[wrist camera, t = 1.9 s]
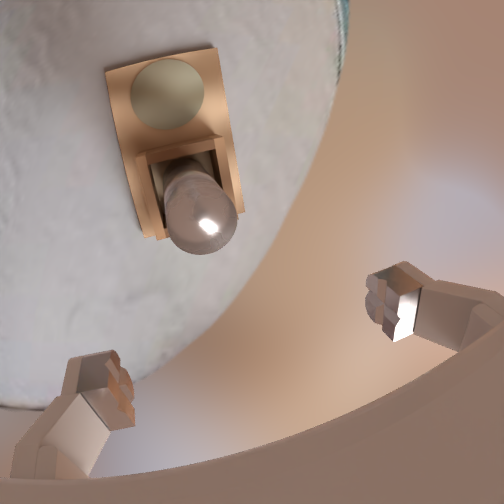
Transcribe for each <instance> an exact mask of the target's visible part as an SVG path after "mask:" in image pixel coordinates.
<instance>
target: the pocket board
mask: <svg viewBox="0 0 504 504" xmlns="http://www.w3.org/2000/svg"><path fill="white" fill-rule="evenodd" d="M105 75H106V81H107V87H108V92H109V98H110V103H111V108H112V113H113V118H114V123H115V127H116V132H117V136H118V141H119V145H120V149H121V154H122V158H123V162H124V166H125V170H126V174H127V178H128V182H129V186H130V189H131V193H132V197H133V200H134V204H135V208H136V211H137V215H138V218H139V222H140V225H141V228H142V232H143V235H144V238H147V237H151V236H155V235H156V239H157V240H161V239H165V238H168V237H170V236H169V234H168V230H167V224H166V214H165V204H164V192H163V174H164V171H165V169H166V168H167V166H168V165H169V164H170V163H172V162H173V161H175V160H177V159H180V158H191V159H194V160H196V161H197V162H199V163H200V164H201V165H202V166H203V168H204V169H205V170H206V171H207V172H208V173H209V175H210V176H211V177H212V178H213V179H214V180H215V181H216V183H217V184H218V185H219V186H220V187H221V189H222V190H223V191H224V192H225V193H226V194H227V196H228V197H229V198H230V199H231V200H232V202H233V204H234V206H235V208H236V212H237V219H238V214H239V213H243V212H245V208H244V202H243V196H242V190H241V185H240V179H239V173H238V167H237V161H236V155H235V149H234V143H233V138H232V132H231V126H230V120H229V114H228V108H227V102H226V96H225V91H224V85H223V79H222V73H221V67H220V61H219V55H218V49H217V48H211V49H204V50H198V51H192V52H187V53H181V54H176V55H171V56H166V57H161V58H157V59H152V60H148V61H144V62H140V63H136V64H132V65H128V66H125V67H121V68H117V69H114V70H111V71H107V72H105Z"/></svg>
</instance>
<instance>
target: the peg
mask: <svg viewBox="0 0 504 504" xmlns="http://www.w3.org/2000/svg"><path fill="white" fill-rule="evenodd" d="M163 192H164V204H165V214H166V224H167V230H168V234H169V236H170V238H171V240H172V241H173V242H174V244H175V245H176V246H177V247H179V248H180V249H182V250H183V251H185V252H187V253H191V254H196V255H204V254H210V253H213V252H215V251H217V250H219V249H221V248H222V247H223V246H225V245H226V244H227V243H228V242H229V241H230V239H231V238H232V236H233V235H234V232H235V230H236V226H237V212H236V208H235V206H234V204H233V202H232V200H231V199H230V198H229V197H228V196H227V194H226V193H225V192H224V191H223V190H222V189H221V187H220V186H219V185H218V184H217V183H216V181H215V180H214V179H213V178H212V177H211V176H210V175H209V173H208V172H207V171H206V170H205V169H204V168H203V166H202V165H201V164H200V163H199V162H197V161H196V160H194V159H191V158H180V159H177V160H175V161H173V162H172V163H170V164H169V165H168V166H167V168H166V169H165V171H164V174H163Z"/></svg>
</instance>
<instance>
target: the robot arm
mask: <svg viewBox="0 0 504 504" xmlns="http://www.w3.org/2000/svg"><path fill="white" fill-rule="evenodd" d="M366 287H367V288H368V289H369V292H368V294H367V296H366V298H365V299H366V300H365V305H366V310H367V313H368V315H369V317H370V318H371V319H372V320H373V322H375V323H377V324H381V325H382V330H383V332H384V333H385V334H386V335H387V336H388V337H389V338H390V339H391V340H392V341H393V342H395V341H397V340H399V339H401V338H403V337H405V336H408V335H410V334H412V333H413V334H415V335H417V336H420V337H422V338H425V339H427V340H429V341H432V342H435V343H437V344H439V345H442V346H445V347H447V348H450V349H452V350H455V351H457V352H458V353H457V354H455V355H454V356H452V357H450V358H449V359H447V360H446V361H445V362H443V363H441V364H439V365H438V366H436V367H434V368H433V369H431V370H430V371H428V372H426V373H425V374H423V375H421V376H419V377H418V378H416V379H414V380H413V381H411V382H409V383H407V384H405V385H403V386H402V387H400V388H398V389H396V390H394V391H392V392H390V393H388V394H386V395H385V396H383V397H381V398H379V399H377V400H375V401H373V402H371V403H369V404H367V405H364V406H362V407H360V408H358V409H356V410H354V411H351V412H349V413H347V414H345V415H342V416H340V417H338V418H336V419H333V420H331V421H328V422H326V423H323V424H321V425H319V426H316V427H314V428H311V429H308V430H306V431H304V432H301V433H298V434H295V435H293V436H289V437H287V438H284V439H281V440H278V441H275V442H272V443H269V444H266V445H262V446H259V447H256V448H253V449H249V450H246V451H243V452H239V453H236V454H232V455H228V456H224V457H220V458H217V459H213V460H208V461H204V462H200V463H195V464H190V465H186V466H181V467H176V468H170V469H164V470H159V471H152V472H146V473H139V474H131V475H123V476H114V477H102V478H90V477H89V476H88V475H89V473H90V471H91V469H92V467H93V465H94V463H95V461H96V460H97V458H98V456H99V454H100V452H101V450H102V448H103V446H104V444H105V442H106V440H107V439H108V437H109V434H110V433H111V432H110V431H113V430H118V429H124V428H128V427H133V426H135V409H134V407H133V406H132V404H131V402H132V401H133V399H134V389H133V384H132V381H131V378H130V376H129V374H128V372H127V370H126V369H124V368H123V367H121V366H120V358H119V356H118V354H117V353H116V351H114V350H108V351H103V352H98V353H93V354H88V355H84V356H79V357H74V358H71V359H69V360H68V364H67V368H66V373H65V377H64V382H63V387H62V391H61V396H58V397H56V398H55V399H54V400H53V402H52V403H51V404H50V405H49V406H48V407H47V409H46V410H45V411H44V412H43V413H42V414H41V416H40V417H39V418H38V419H37V420H36V422H35V423H34V424H33V425H32V426H31V427H30V429H29V430H28V431H27V432H26V434H25V435H24V436H23V437H22V438H21V440H20V441H19V442H18V443H17V444H16V446H15V450H14V455H13V461H12V467H11V473H10V478H2V477H0V504H504V297H503V296H502V295H500V294H499V293H497V292H496V291H490V290H485V289H481V288H476V287H471V286H466V285H461V284H456V283H452V282H446V281H441V280H437V281H435V280H433V279H432V278H430V277H429V276H428V275H426V274H425V273H423V272H422V271H420V270H419V269H417V268H416V267H414V266H413V265H412V264H410V263H409V262H406V261H403V262H400V263H398V264H395V265H393V266H392V267H389V268H386V269H383V270H381V271H378V272H375V273H372V274H370V275H368V277H367V279H366Z"/></svg>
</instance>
